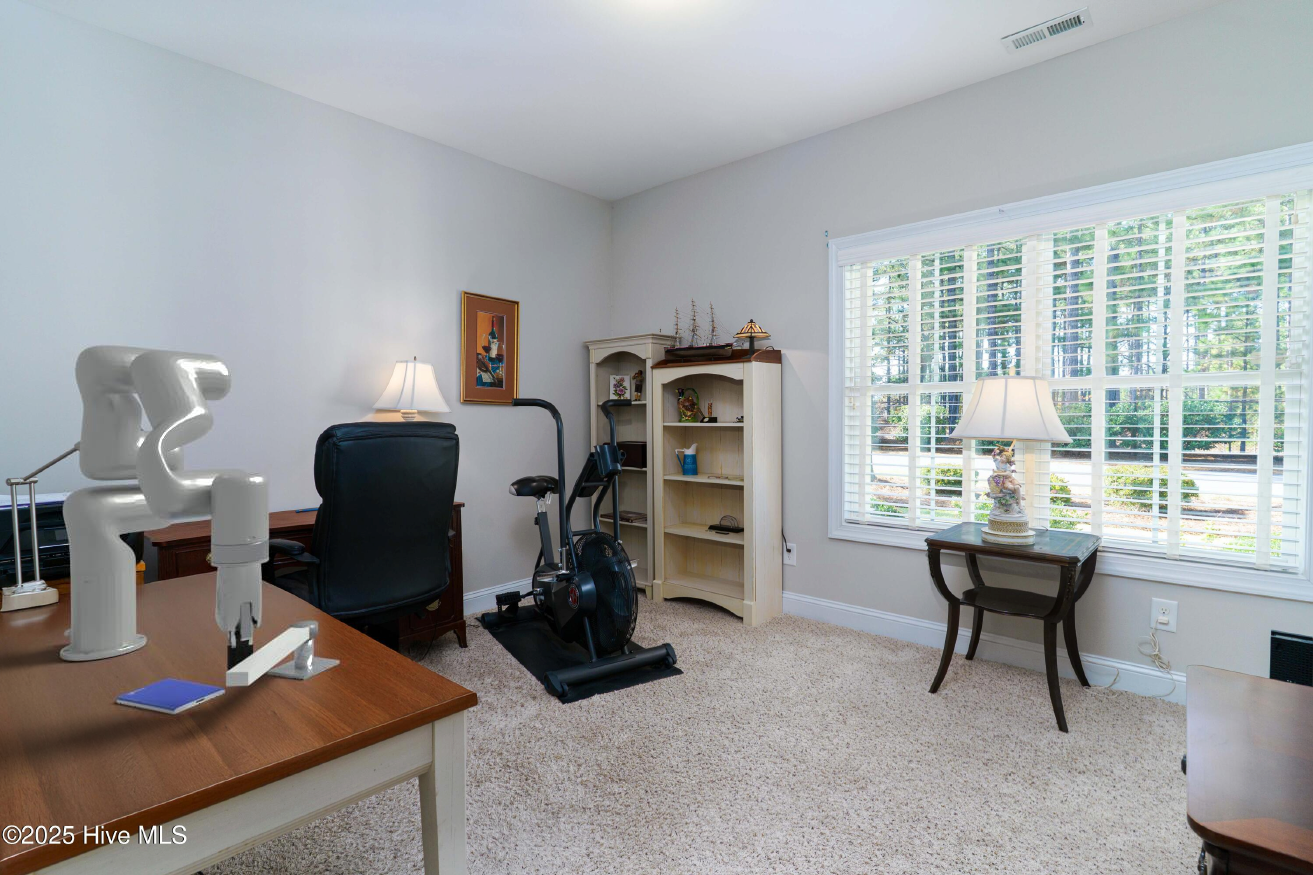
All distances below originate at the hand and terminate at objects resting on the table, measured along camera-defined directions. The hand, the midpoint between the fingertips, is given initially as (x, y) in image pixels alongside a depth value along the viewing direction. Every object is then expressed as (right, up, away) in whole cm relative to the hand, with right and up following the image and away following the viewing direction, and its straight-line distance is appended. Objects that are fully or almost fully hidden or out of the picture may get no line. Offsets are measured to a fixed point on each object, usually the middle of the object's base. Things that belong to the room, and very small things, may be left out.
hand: (240, 669), depth 100 cm
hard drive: (-12, -6, +2) cm, 14 cm away
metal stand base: (+2, -5, +15) cm, 16 cm away
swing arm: (+3, +1, +5) cm, 6 cm away
